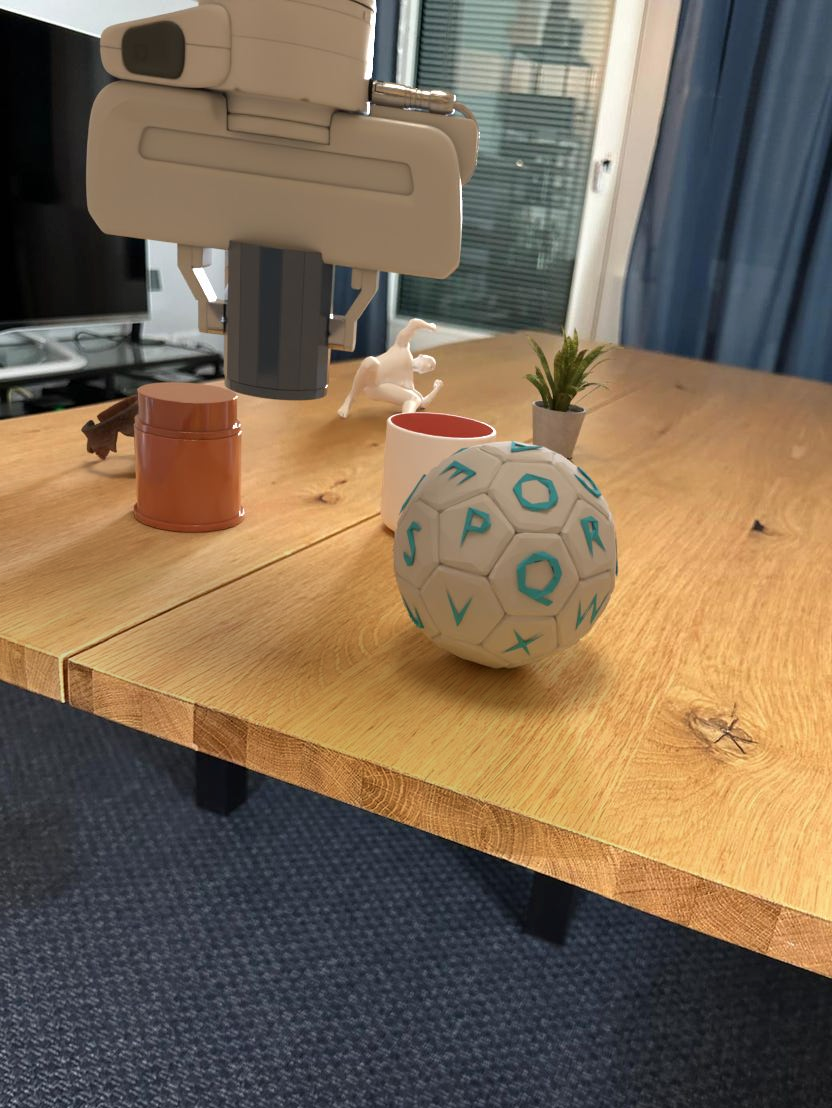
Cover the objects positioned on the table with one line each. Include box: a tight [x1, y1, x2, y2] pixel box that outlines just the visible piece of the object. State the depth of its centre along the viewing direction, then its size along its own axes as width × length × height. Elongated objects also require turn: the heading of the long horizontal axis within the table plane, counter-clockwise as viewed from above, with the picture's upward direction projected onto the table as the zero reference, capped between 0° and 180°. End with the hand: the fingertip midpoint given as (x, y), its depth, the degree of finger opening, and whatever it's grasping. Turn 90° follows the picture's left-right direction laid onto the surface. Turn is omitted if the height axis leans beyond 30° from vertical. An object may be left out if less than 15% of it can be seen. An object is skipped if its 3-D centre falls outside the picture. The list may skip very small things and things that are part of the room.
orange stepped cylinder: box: [132, 381, 245, 533], centre depth 82 cm, size 10×10×11 cm
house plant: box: [521, 324, 631, 459], centre depth 118 cm, size 14×14×16 cm
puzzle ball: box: [392, 440, 619, 670], centre depth 62 cm, size 15×15×15 cm
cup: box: [379, 411, 497, 533], centre depth 86 cm, size 10×10×10 cm
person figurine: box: [337, 317, 444, 419], centre depth 132 cm, size 13×13×18 cm
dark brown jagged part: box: [80, 394, 138, 461], centre depth 95 cm, size 12×10×8 cm
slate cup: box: [223, 240, 336, 402], centre depth 54 cm, size 6×6×8 cm
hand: (277, 341), depth 54 cm, fingers closed on slate cup, 6 cm apart
